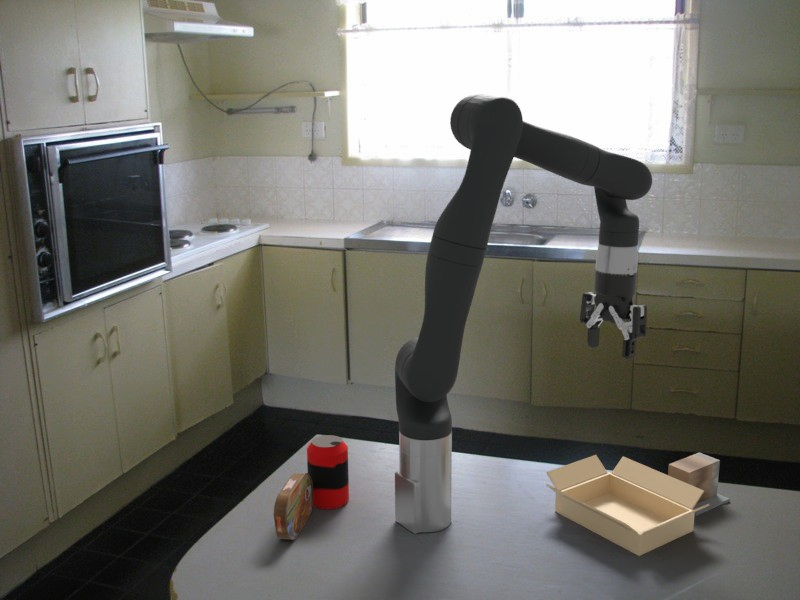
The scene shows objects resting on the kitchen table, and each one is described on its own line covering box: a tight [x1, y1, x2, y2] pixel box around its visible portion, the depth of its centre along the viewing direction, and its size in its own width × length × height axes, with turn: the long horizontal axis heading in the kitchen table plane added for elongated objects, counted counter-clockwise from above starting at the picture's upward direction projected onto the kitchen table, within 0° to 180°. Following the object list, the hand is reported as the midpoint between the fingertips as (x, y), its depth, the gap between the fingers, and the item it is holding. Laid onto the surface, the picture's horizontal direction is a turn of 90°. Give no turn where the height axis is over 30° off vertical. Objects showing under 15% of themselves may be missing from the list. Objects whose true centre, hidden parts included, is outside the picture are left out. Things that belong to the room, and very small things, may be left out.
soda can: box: [306, 434, 350, 510], centre depth 162 cm, size 8×8×12 cm
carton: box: [545, 454, 709, 557], centre depth 153 cm, size 20×26×7 cm
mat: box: [692, 493, 731, 517], centre depth 162 cm, size 10×9×1 cm
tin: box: [273, 472, 314, 541], centre depth 153 cm, size 15×3×8 cm, turn 169°
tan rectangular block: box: [667, 452, 721, 504], centre depth 161 cm, size 9×4×7 cm, turn 125°
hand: (610, 352), depth 164 cm, fingers open, 8 cm apart
